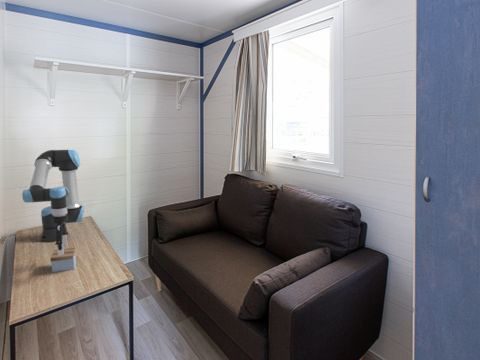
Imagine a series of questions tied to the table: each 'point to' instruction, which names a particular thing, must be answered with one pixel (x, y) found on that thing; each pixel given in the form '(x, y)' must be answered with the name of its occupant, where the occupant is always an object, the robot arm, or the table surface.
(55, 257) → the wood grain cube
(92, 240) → the table surface
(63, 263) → the slide box
